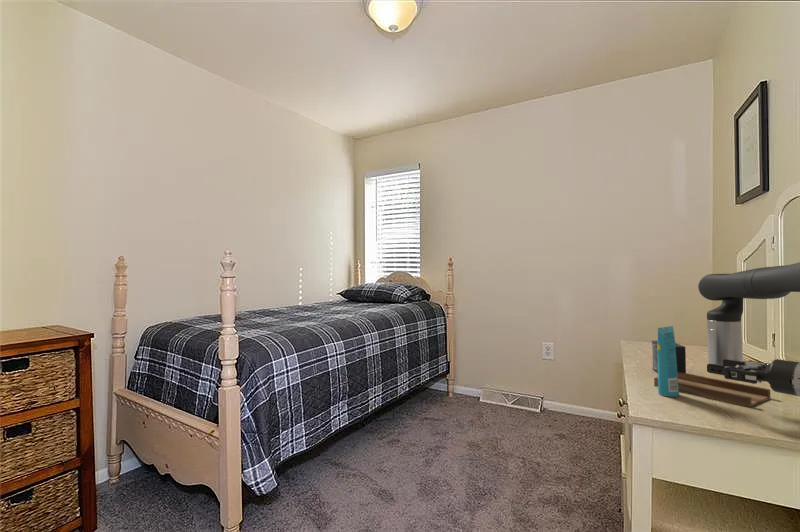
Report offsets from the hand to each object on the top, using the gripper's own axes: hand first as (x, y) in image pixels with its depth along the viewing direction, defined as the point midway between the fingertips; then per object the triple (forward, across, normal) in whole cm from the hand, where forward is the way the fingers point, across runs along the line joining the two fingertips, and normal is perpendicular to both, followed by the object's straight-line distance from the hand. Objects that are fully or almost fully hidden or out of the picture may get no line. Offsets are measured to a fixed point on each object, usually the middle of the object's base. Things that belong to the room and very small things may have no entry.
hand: (715, 365), depth 102 cm
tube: (+12, 0, +11) cm, 16 cm away
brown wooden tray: (+7, -12, +10) cm, 17 cm away
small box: (+23, -23, +11) cm, 34 cm away
